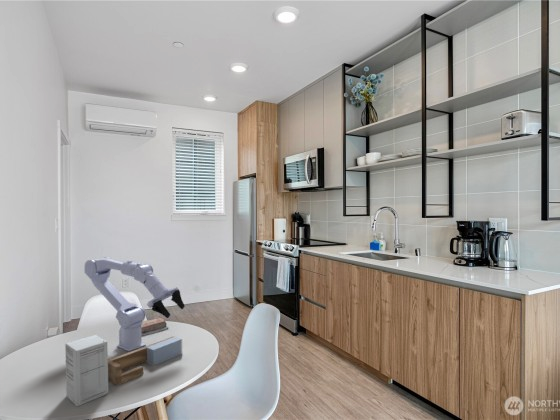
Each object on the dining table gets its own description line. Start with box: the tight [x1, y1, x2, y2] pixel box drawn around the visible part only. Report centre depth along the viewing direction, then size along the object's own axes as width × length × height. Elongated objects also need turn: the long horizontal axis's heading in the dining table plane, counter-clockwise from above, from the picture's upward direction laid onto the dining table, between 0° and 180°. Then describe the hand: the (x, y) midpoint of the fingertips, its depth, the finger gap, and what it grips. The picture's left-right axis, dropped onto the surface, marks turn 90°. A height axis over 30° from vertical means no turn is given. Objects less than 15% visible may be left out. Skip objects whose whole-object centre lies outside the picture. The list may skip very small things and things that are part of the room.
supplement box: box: [64, 334, 109, 407], centre depth 106 cm, size 10×9×17 cm
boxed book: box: [146, 336, 183, 366], centre depth 133 cm, size 4×13×6 cm, turn 144°
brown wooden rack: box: [108, 336, 175, 386], centre depth 127 cm, size 10×30×6 cm, turn 144°
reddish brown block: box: [141, 317, 169, 337], centre depth 162 cm, size 18×5×10 cm
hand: (176, 312), depth 136 cm, fingers open, 7 cm apart
